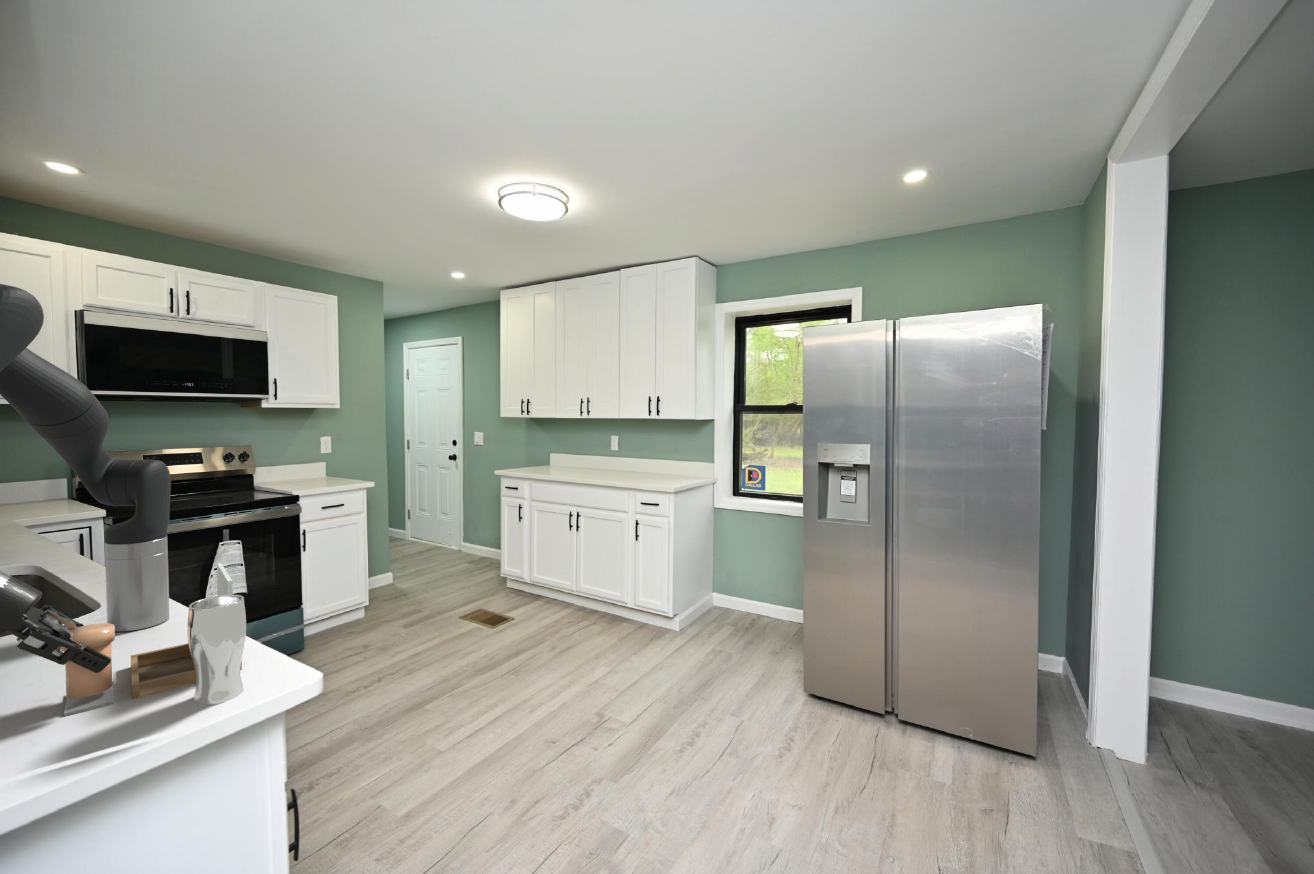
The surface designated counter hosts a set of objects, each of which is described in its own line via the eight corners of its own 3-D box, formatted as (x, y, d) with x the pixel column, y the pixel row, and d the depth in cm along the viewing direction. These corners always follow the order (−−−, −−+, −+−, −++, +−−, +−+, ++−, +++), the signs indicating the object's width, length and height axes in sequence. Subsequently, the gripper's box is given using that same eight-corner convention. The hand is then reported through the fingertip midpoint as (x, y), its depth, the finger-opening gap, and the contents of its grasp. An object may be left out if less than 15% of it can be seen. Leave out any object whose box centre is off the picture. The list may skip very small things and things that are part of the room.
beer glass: (235, 707, 82) (233, 607, 82) (179, 714, 80) (176, 611, 80) (255, 684, 89) (253, 592, 88) (203, 690, 87) (200, 596, 86)
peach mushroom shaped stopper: (63, 689, 83) (61, 629, 82) (116, 677, 87) (114, 620, 86) (60, 704, 79) (58, 641, 78) (115, 690, 83) (114, 631, 82)
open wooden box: (131, 670, 93) (129, 602, 93) (230, 647, 102) (229, 585, 102) (132, 702, 83) (130, 626, 83) (242, 674, 92) (241, 605, 92)
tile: (67, 698, 84) (67, 692, 84) (114, 687, 87) (113, 681, 87) (64, 720, 78) (63, 713, 78) (113, 707, 82) (113, 701, 82)
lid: (217, 612, 101) (216, 563, 100) (222, 611, 101) (221, 562, 101) (229, 635, 91) (227, 581, 90) (233, 634, 91) (232, 580, 91)
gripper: (0, 588, 71) (130, 652, 80) (15, 564, 82) (129, 623, 91) (-66, 640, 68) (78, 701, 77) (-41, 608, 78) (83, 665, 87)
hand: (105, 659), depth 84 cm, fingers closed on peach mushroom shaped stopper, 5 cm apart
